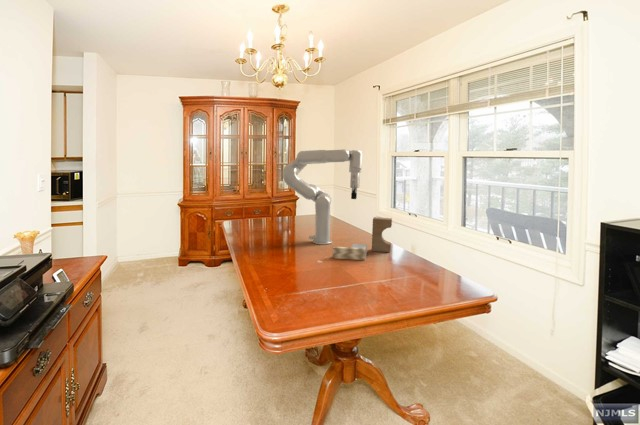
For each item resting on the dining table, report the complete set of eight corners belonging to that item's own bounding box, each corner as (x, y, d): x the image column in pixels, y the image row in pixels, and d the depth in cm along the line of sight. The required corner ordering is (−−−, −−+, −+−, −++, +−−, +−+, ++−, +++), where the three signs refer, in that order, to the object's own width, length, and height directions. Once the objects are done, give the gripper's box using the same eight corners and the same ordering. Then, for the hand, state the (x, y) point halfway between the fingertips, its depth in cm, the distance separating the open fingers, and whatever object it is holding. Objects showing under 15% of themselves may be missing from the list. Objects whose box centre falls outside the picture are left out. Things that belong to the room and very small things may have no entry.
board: (332, 258, 203) (332, 247, 202) (333, 256, 206) (333, 246, 205) (365, 260, 200) (365, 249, 199) (365, 258, 203) (365, 248, 202)
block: (351, 257, 204) (351, 247, 203) (352, 254, 212) (352, 244, 211) (365, 258, 203) (366, 248, 202) (366, 254, 211) (366, 244, 210)
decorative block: (390, 250, 221) (392, 218, 218) (390, 252, 215) (391, 219, 212) (372, 248, 224) (373, 217, 221) (371, 251, 218) (372, 218, 215)
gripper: (359, 170, 220) (358, 200, 223) (362, 169, 235) (361, 198, 238) (347, 170, 222) (346, 200, 225) (351, 169, 236) (349, 197, 239)
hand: (353, 198), depth 231 cm, fingers closed
